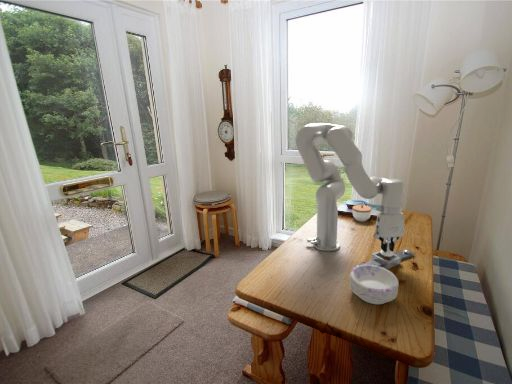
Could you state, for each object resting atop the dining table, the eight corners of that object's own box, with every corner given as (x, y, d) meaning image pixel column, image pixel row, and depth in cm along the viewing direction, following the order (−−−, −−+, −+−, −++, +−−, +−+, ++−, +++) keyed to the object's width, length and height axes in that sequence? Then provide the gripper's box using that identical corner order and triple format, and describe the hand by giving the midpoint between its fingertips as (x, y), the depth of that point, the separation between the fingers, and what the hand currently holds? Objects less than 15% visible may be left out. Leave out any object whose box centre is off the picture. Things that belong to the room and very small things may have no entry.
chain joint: (366, 276, 101) (366, 269, 100) (351, 266, 108) (352, 260, 108) (418, 257, 112) (418, 251, 111) (401, 249, 119) (402, 243, 119)
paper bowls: (375, 317, 81) (377, 296, 78) (340, 290, 94) (341, 271, 92) (406, 300, 87) (409, 280, 85) (369, 277, 100) (370, 259, 98)
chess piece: (389, 250, 111) (391, 229, 109) (395, 256, 107) (398, 234, 104) (378, 251, 111) (380, 229, 109) (384, 256, 107) (386, 234, 104)
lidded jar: (372, 223, 150) (373, 208, 147) (352, 222, 152) (353, 207, 150) (369, 216, 160) (370, 202, 157) (350, 216, 162) (351, 202, 160)
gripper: (376, 214, 100) (373, 256, 105) (415, 211, 100) (411, 253, 105) (367, 208, 107) (364, 247, 112) (404, 205, 108) (400, 244, 113)
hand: (387, 250), depth 109 cm, fingers closed on chess piece
